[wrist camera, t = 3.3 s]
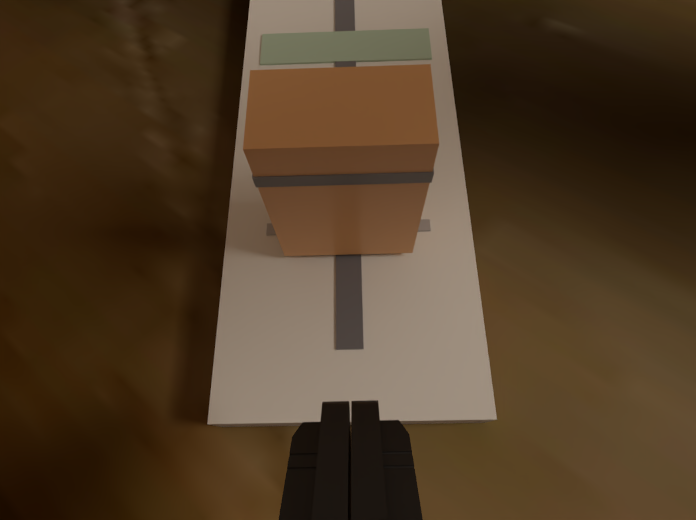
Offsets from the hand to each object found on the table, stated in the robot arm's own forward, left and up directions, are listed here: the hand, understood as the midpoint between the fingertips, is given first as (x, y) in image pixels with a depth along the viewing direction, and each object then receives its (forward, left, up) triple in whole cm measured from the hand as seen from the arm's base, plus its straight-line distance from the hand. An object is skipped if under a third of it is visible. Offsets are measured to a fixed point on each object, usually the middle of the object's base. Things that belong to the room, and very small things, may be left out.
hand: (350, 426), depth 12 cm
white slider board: (-7, -14, -9) cm, 18 cm away
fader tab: (-4, -9, -7) cm, 12 cm away
